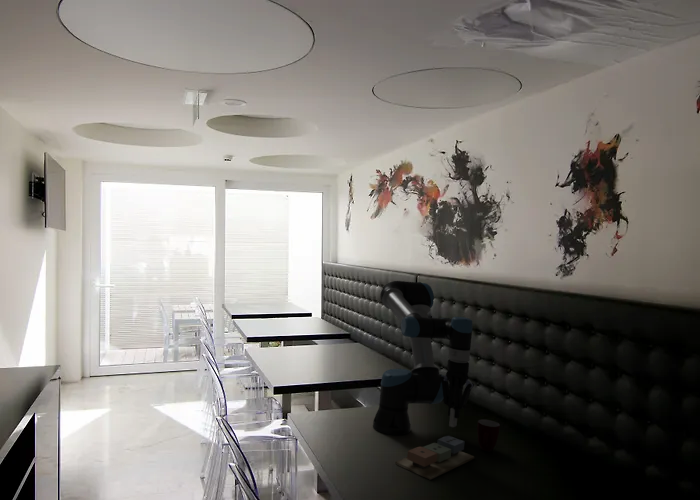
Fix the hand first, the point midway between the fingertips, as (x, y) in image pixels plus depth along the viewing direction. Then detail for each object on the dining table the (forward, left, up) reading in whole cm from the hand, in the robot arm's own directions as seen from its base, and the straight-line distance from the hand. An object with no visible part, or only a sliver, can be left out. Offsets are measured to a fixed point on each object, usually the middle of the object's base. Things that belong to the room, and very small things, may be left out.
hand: (452, 426), depth 179 cm
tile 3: (0, 0, -8) cm, 8 cm away
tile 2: (0, -9, -9) cm, 12 cm away
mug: (+6, +16, -11) cm, 20 cm away
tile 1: (0, -18, -8) cm, 20 cm away
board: (0, -9, -11) cm, 14 cm away
